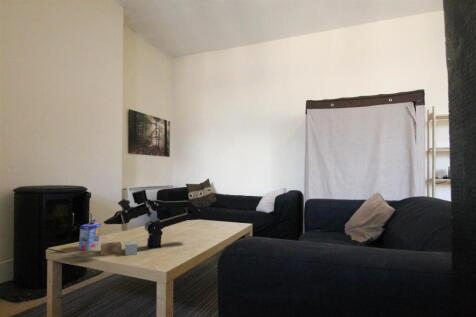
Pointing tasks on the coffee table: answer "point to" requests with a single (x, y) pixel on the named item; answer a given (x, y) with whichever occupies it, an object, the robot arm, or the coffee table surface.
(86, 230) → the ink cartridge box
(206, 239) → the coffee table surface
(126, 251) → the slate cube
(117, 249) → the walnut block
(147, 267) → the coffee table surface
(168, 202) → the robot arm
